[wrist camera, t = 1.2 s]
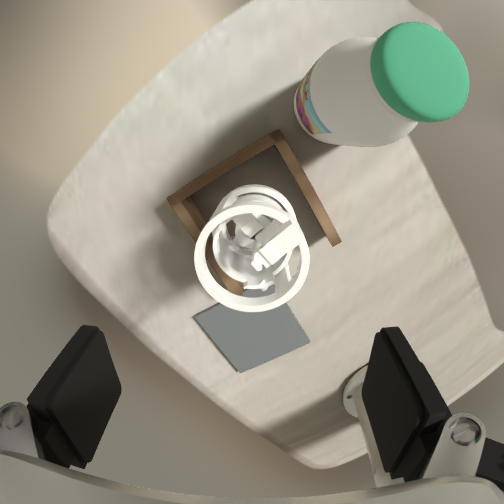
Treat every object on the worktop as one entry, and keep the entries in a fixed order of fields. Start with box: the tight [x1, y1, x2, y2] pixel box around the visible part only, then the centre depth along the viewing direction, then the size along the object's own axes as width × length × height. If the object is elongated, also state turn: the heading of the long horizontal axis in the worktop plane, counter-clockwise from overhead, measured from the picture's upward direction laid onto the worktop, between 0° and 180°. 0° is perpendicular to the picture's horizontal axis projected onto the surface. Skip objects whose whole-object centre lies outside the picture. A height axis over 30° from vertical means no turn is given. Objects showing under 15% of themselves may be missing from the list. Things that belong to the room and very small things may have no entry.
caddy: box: [166, 129, 342, 296], centre depth 31 cm, size 12×12×4 cm
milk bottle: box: [294, 22, 469, 147], centre depth 19 cm, size 8×8×20 cm
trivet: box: [195, 284, 310, 373], centre depth 37 cm, size 10×10×1 cm
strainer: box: [194, 184, 310, 312], centre depth 25 cm, size 7×7×15 cm
